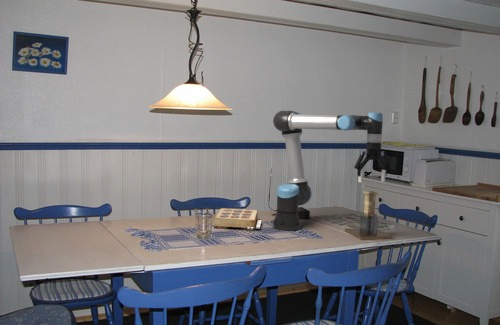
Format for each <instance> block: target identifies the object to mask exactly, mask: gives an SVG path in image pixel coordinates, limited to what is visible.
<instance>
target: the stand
mask: <svg viewBox="0 0 500 325" xmlns="http://www.w3.org/2000/svg"><path fill="white" fill-rule="evenodd" d="M371 214H372V215H374V216H373V217H372V218H367V217H365V216H363V215H364V214H362V215H361V214H360V217H359V227H357V228H356V227H355V228H351V227H350V228H344V232H345V233H348V234H349V235H351V236H353V237H355V238H356V239H359V240H361V241H369V240H370V241H371V240H388V239H389V240H390V239H391V238H392V239H393V235H392V234H390V233H388V232H385V231H382V230H381V229H378V220H379V218H378V214H377V213H371ZM392 239H391V240H392Z"/></svg>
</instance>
